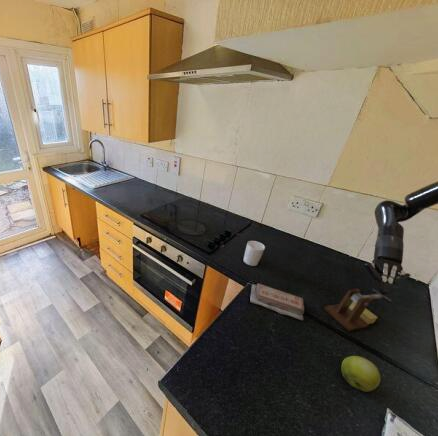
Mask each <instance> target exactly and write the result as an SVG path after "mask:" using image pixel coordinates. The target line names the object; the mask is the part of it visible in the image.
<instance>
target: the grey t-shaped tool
mask: <svg viewBox="0 0 438 436" xmlns="http://www.w3.org/2000/svg"><path fill="white" fill-rule="evenodd" d="M371 292H372V294H361V293H360V292H359V293H356V294H353V295H352V297H351V298H350V299H351V300H353V301H354V302H355V303H357V302H358V301H359V299H361V298H366V297H370V298H372V300H374V299H382V300H384V301H385V302H387V303H388V304H393V303H394V301H395V300H394V299H393V298H392V297H389V296H388V295H387V294H384V293H381V292H380V291H379V289H378V288H375V287H374V288H372V289H371Z"/></svg>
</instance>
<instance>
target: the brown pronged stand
mask: <svg viewBox="0 0 438 436" xmlns="http://www.w3.org/2000/svg"><path fill="white" fill-rule="evenodd" d="M360 292H361V290H360V289H359V288H354V289H353V288H352V289H348V290H347V292H346V293H345V295H344V296H343V298H342V300H340V303H337V304H331V305H326V306H324V307H323V310H324V311H325V312H327V314H329V315H330V316H331V317H332V318H333V319H334V320H335V321H336V322H337V323H339V325H341V326H342V327H344V328H345V330H347V332H353V331H356V330H362V329H366V328H369V326H370V324H368V323H366V322H365V321H364V320H363V319H361V318H360V316H361V314H362V313H363V312H364V310H365V309H367V307H368V306H369V305H370V303H371V302H372V300H373V299H372V298H370V297H366V298H361V299H359V301H358V302H357V304H356V305H355V307H354V308H353V310H352V311H351V310H350V309H349V307H350V305H351V304H352V302H353V300H351V299H350V298H351V297H352V295H353V294H356V293H360Z"/></svg>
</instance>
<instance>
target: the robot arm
mask: <svg viewBox="0 0 438 436" xmlns="http://www.w3.org/2000/svg"><path fill="white" fill-rule="evenodd" d="M436 205H438V180H437V181H435V182H432V183H430V184H428V185H425V186H423V187H421V188H419V189H416V190H414V191H411V192H410V193H408V194H406V195H405V196H404V204H400V203H398V202H396V201H393V200H387V199H386V200H382V201H380V202H379V203H377V205H376V206H375V208H374V219H375V222H376V225H377V235H376V239H375V244H374V253H373V260H372V261H371V262H368V263H365V264H364V265H363V266H364V268H365V269H366V271H367V272H368V274H369V275H370V276H371V277H372V279H373V280H376V281H378V288H377V290H379V291H380V292H381V293H383V294H385V295H388V294H390V293H391V291H392V285H398V284H400V283H402V282H403V281H405V280H407V279H408V278H410V277H411V274H410V273H409V272H406V271H405V270H404V268H403V265H402V264H403V258H404V247H405V245H404V237H405V236H404V235H405V230H404V226H403V225H402V224H401V223H402V222H407V221H408V220H411V219H412V218H413V217H415V216H416V215H418V214H420V213H421V212H422V211H424V210H426V209H428V208H430V207H434V206H436ZM396 275H397V276H396ZM395 277H396V278H395Z"/></svg>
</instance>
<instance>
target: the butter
mask: <svg viewBox="0 0 438 436" xmlns="http://www.w3.org/2000/svg"><path fill="white" fill-rule="evenodd" d="M356 304H357V303H355V302H354V301H353V302H352V304H351V305H350V307H349V309H350V310H351V311H352V310H353V308H354V307H355V305H356ZM360 318H361V319H363V320H364V321H365V322H366V323H368V324H369V325H370V324H374V323H375V322H376V320H377V319H378V316H377V315H376V314H374V313H373V312H371V311H370V310H369V309H368V308H366V309H365V310H364V312H363V313H362V314H361V316H360Z"/></svg>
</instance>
